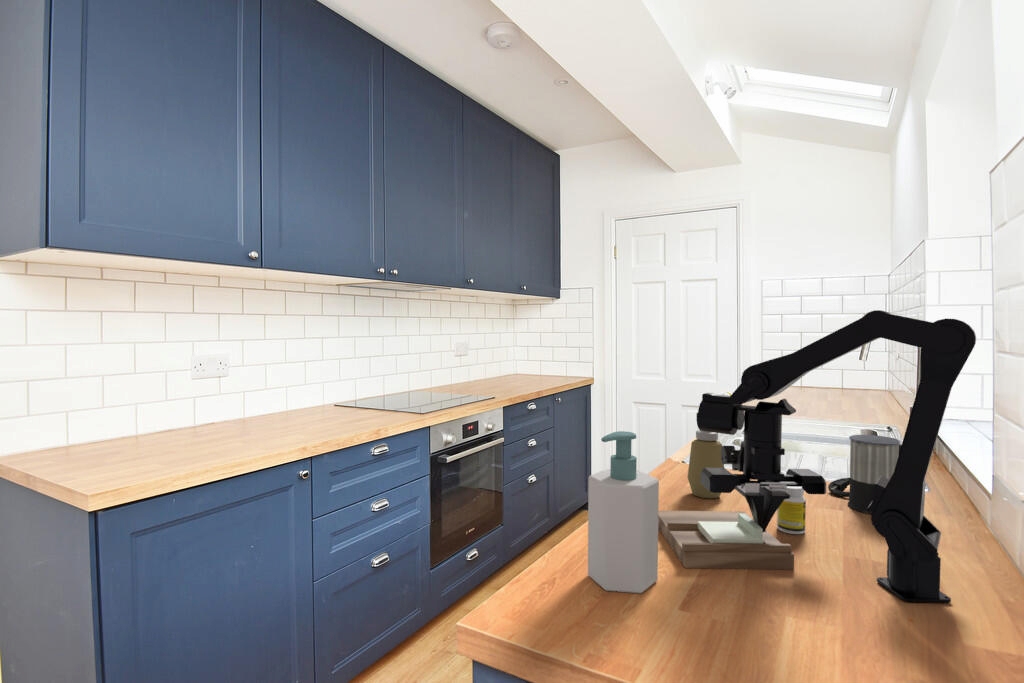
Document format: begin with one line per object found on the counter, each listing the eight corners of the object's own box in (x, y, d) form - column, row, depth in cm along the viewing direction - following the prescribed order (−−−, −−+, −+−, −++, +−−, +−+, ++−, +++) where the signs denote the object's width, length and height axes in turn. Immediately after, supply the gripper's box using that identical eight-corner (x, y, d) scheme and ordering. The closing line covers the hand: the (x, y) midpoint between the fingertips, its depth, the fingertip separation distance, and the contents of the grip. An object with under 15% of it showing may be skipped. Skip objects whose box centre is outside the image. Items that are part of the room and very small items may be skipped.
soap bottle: (579, 569, 88) (580, 429, 87) (629, 560, 91) (631, 425, 90) (613, 599, 78) (615, 442, 77) (668, 588, 81) (670, 437, 81)
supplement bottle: (808, 536, 102) (809, 490, 102) (780, 534, 103) (781, 488, 103) (800, 526, 107) (801, 482, 106) (774, 524, 107) (774, 481, 107)
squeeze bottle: (733, 498, 124) (734, 417, 123) (703, 502, 121) (705, 419, 120) (707, 488, 131) (709, 411, 131) (679, 492, 128) (680, 413, 128)
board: (793, 569, 88) (794, 548, 88) (684, 568, 88) (685, 546, 88) (744, 523, 108) (744, 506, 108) (655, 522, 108) (655, 505, 108)
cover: (763, 547, 90) (763, 529, 90) (713, 546, 90) (713, 529, 90) (743, 528, 98) (744, 512, 98) (697, 528, 98) (697, 512, 98)
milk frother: (888, 519, 111) (890, 445, 110) (807, 499, 123) (808, 432, 123) (916, 506, 119) (918, 436, 119) (837, 488, 132) (839, 425, 131)
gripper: (796, 430, 101) (794, 515, 102) (691, 428, 102) (690, 514, 102) (829, 443, 90) (826, 539, 91) (711, 442, 91) (710, 537, 91)
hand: (760, 531), depth 94 cm, fingers closed
